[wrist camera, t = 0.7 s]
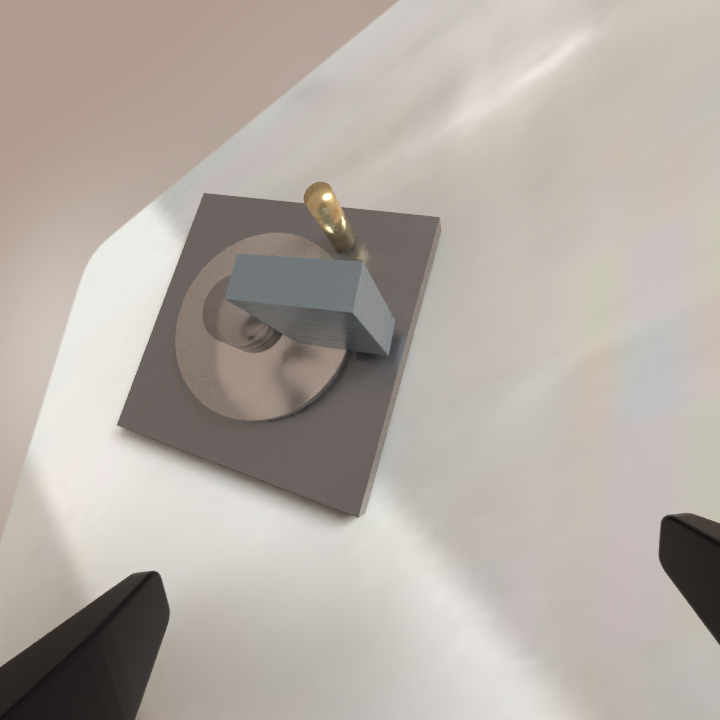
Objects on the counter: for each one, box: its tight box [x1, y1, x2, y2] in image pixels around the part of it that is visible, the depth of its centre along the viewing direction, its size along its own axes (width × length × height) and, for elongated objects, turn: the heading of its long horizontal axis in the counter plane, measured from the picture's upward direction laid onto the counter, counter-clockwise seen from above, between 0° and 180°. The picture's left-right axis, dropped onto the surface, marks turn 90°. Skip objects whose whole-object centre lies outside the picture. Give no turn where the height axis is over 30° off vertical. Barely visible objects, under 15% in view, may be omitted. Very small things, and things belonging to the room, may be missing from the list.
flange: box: [175, 233, 395, 421], centre depth 19 cm, size 14×12×8 cm
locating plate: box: [117, 182, 441, 517], centre depth 22 cm, size 18×18×6 cm
